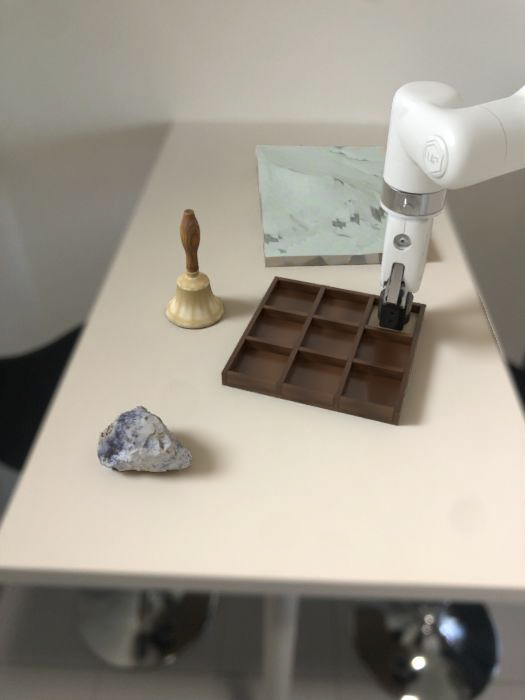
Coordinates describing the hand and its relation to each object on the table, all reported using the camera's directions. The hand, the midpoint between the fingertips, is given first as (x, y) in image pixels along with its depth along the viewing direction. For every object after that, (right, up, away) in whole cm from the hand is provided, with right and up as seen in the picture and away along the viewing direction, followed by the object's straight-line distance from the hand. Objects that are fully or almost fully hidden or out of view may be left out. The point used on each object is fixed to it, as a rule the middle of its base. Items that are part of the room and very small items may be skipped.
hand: (394, 315), depth 92 cm
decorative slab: (-7, +21, +28) cm, 35 cm away
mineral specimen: (-31, -17, -16) cm, 39 cm away
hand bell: (-27, +1, +4) cm, 28 cm away
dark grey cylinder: (0, 0, 0) cm, 0 cm away
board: (-9, -4, -2) cm, 10 cm away
